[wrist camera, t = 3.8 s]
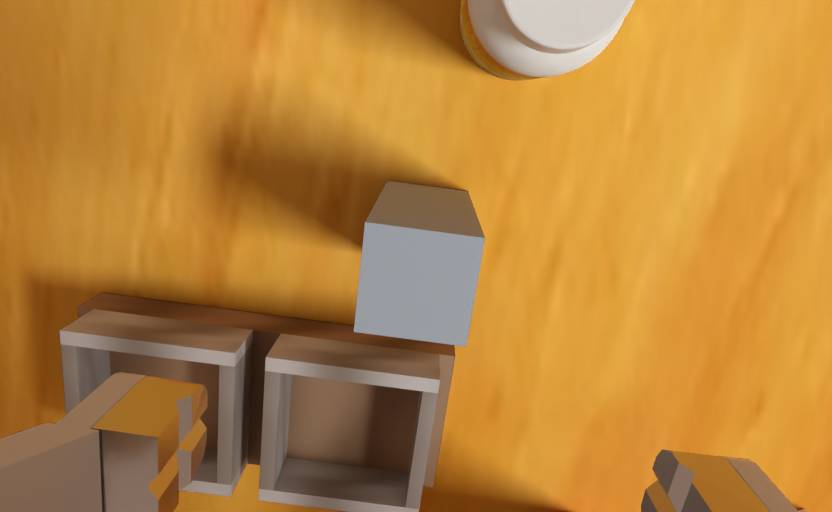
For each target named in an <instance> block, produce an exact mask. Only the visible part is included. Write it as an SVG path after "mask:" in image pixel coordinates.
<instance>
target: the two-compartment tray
mask: <svg viewBox="0 0 832 512" xmlns="http://www.w3.org/2000/svg"><path fill="white" fill-rule="evenodd" d="M60 343H61V356H62V369H63V382H64V395H65V408H66V414H68V413H69V412H70V411H71V410H72V409H73V408H75V407H76V406H77V405H78V404H79V403H80V402H82V401H83V400H84V399H85V398H86V397H87V396H89V395H90V394H91V393H92V392H93V391H94V390H96V389H97V388H98V387H99V386H100V385H101V384H102V383H104V382H105V381H106V380H107V379H108V378H109V377H111V376H112V375H113V374H114V373H121V372H123V373H131V374H139V375H146V376H148V377H149V376H151V377H158V378H164V379H170V380H176V381H183V382H189V383H195V384H201V385H204V386H205V387H206V389H207V400H208V407H207V408H206V410H205V411H204V413H203V414H202V415H201V417H200V419H201V421H202V422H203V424H204V425H205V426H206V428H207V441H206V447H205V453H204V456H203V459H202V462H201V465H200V467H199V470H198V472H197V474H196V476H195V477H194V479H193V481H192V482H191V484H189V485H187V486H186V487H184V488H182V489H180V490H182V491H190V492H197V493H205V494H213V495H221V496H229V497H231V495H232V493H233V491H234V489H235V487H236V485H237V483H238V481H239V479H240V477H241V475H242V473H243V471H244V469H245V467H246V465H247V463H249V464H256V465H260V481H259V500H260V501H268V502H275V503H283V504H291V505H299V506H307V507H315V508H322V509H330V510H338V511H346V512H419V508H420V502H421V496H422V490H423V486H428V487H433V486H434V480H435V474H436V468H437V462H438V456H439V450H440V444H441V438H442V432H443V426H444V420H445V414H446V408H447V402H448V396H449V391H450V385H451V379H452V373H453V367H454V361H455V348H454V345H450V344H442V343H435V342H427V341H419V340H412V339H404V338H396V337H389V336H381V335H374V334H366V333H358V332H354V326H352V325H344V324H337V323H329V322H321V321H314V320H306V319H299V318H291V317H283V316H276V315H268V314H260V313H253V312H245V311H238V310H230V309H222V308H215V307H207V306H199V305H192V304H184V303H177V302H169V301H161V300H154V299H146V298H138V297H131V296H123V295H116V294H108V293H100V294H99V295H97V296H95V297H94V298H92V299H90V300H89V301H87V302H85V303H83V304H82V305H80V306H78V319H77V320H75V321H74V322H72V323H71V324H69V325H67V326H66V327H64V328H63V329H61V330H60Z"/></svg>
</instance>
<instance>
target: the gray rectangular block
mask: <svg viewBox="0 0 832 512" xmlns="http://www.w3.org/2000/svg"><path fill="white" fill-rule="evenodd" d="M484 241H485V237H484V234H483V231H482V228H481V226H480V223H479V220H478V218H477V215H476V212H475V209H474V207H473V204H472V201H471V199H470V196H469V193H468V191H463V190H455V189H448V188H440V187H433V186H425V185H418V184H410V183H403V182H396V181H388V180H387V182H386V184H385V186H384V188H383V190H382V192H381V193H380V195H379V197H378V199H377V201H376V203H375V204H374V206H373V208H372V210H371V212H370V214H369V216H368V217H367V219H366V221H365V227H364V237H363V246H362V256H361V266H360V275H359V285H358V295H357V304H356V314H355V324H354V332H358V333H366V334H374V335H381V336H389V337H396V338H404V339H412V340H419V341H427V342H435V343H442V344H450V345H457V346H465V347H466V345H467V339H468V333H469V327H470V322H471V316H472V310H473V304H474V299H475V293H476V287H477V281H478V276H479V270H480V264H481V258H482V253H483V247H484Z"/></svg>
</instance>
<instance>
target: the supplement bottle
mask: <svg viewBox="0 0 832 512" xmlns="http://www.w3.org/2000/svg"><path fill="white" fill-rule="evenodd" d="M634 1H635V0H461V5H460V15H459V17H460V30H461V34H462V38H463V41H464V43H465V46H466V48H467V50H468V52H469V53H470V55H471V57H472V58H473V59H474V61H475V62H476V63H477V64H478V65H479V66H480V67H481V68H482V69H484V70H485V71H487V72H488V73H490V74H492V75H494V76H496V77H499V78H502V79H506V80H530V79H537V78H544V77H552V76H558V75H561V74H565V73H568V72H571V71H574V70H576V69H578V68H580V67H582V66H583V65H585V64H587V63H588V62H590V61H591V60H593V59H594V58H595V57H596V56H597V55H599V54H600V53H601V52H602V51H603V50H604V49H605V48H606V46H607V45H608V44H609V43H610V42H611V40H612V39H613V38H614V36H615V35H616V33H617V32H618V30H619V28H620V26H621V24H622V22H623V20H624V18H625V16H626V15H627V13H628V12H629V10H630V9H631V7H632V5H633V3H634Z"/></svg>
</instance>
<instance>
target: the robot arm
mask: <svg viewBox="0 0 832 512" xmlns="http://www.w3.org/2000/svg"><path fill="white" fill-rule="evenodd" d="M207 407H208V400H207V389H206V387H205V386H204V385H201V384H195V383H189V382H183V381H176V380H170V379H164V378H158V377H151V376H149V377H148V376H146V375H139V374H131V373H123V372H121V373H114V374H113V375H112V376H111V377H109V378H108V379H107V380H106V381H105V382H104V383H102V384H101V385H100V386H99V387H98V388H97V389H96V390H94V391H93V392H92V393H91V394H90V395H89V396H87V397H86V398H85V399H84V400H83V401H82V402H80V403H79V404H78V405H77V406H76V407H75V408H73V409H72V410H71V411H70V412H69V413H68V414H66V415H65V416H64V417H63V418H62V419H61V420H60V421H58V422H57V423H56V424H51V423H44V424H41V425H38V426H35V427H32V428H29V429H26V430H23V431H20V432H18V433H15V434H12V435H9V436H6V437H3V438H0V512H173V511H174V509H175V508H176V506H177V505H178V498H179V490H180V489H182V488H184V487H186V486H187V485H189V484H191V482H192V481H193V479H194V477H195V476H196V474H197V472H198V470H199V467H200V465H201V462H202V459H203V456H204V453H205V447H206V441H207V428H206V426H205V425H204V424H203V422H202V421H201V419H200V417H201V415H202V414H203V413H204V411H205V410H206V408H207ZM653 471H654V473H655V475H656V477H657V481H656V482H654V483H653V484H652V485H651V486H649V487H648V488H647V489H646V490H645V494H644V497H643V501H642V504H641V512H798V510H797V509H796V508H795V507H794V506H793V505H792V504H791V502H790V501H789V500H788V499H787V498H786V497H785V496H784V495H783V493H782V492H781V491H780V490H779V489H778V488H777V487H776V485H775V484H774V483H773V482H772V481H771V480H770V479H769V478H768V476H767V475H766V474H765V473H764V472H763V471H762V470H761V469H760V467H759V466H758V465H757V464H756V463H754V462H752V461H750V460H749V459H744V458H735V457H725V456H712V455H704V454H695V453H687V452H678V451H670V450H662V451H661V452H660V453H659V454H658V456H657V457H656V460H655V463H654V466H653Z"/></svg>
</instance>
